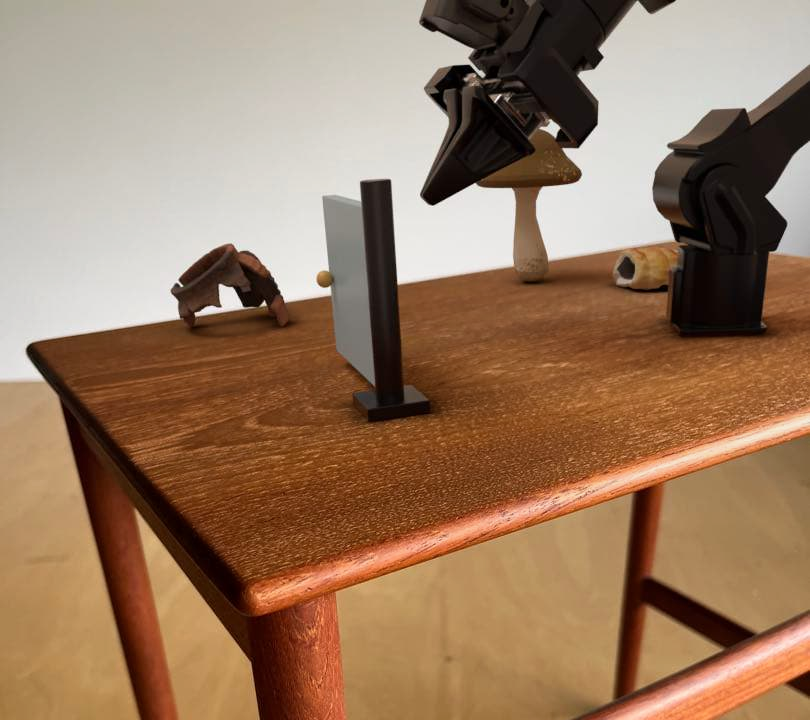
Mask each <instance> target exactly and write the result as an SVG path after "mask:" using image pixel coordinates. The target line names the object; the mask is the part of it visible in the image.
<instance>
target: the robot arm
mask: <svg viewBox="0 0 810 720" xmlns="http://www.w3.org/2000/svg"><path fill="white" fill-rule="evenodd" d="M676 1H677V0H425V2H424V5H423V8H422V11H421V14H420V17H419V20H418V24H419V25H420V26H421V27H423V28H424V29H425V30H426V31H429V32H431V33H436V32H438V33H439V34H442V35H443V36H446V37H448V38H450V39H452V40H453V41H455V42H457V43H460V44H461V45H464V46H466V47H468V48H469V49H472V51H471V53H470V54H469V56H468V57H467V60H469V61H470V62H471V63H472V65H473V66H474V67H475V68H476V69H477V70H478V71H481V72H482V73H483V74H484V75H483V77H482V76H481V75H480V74H479V73H478V72H477V71H476V70H475V68H473V66H472V65H471V64H453V65H449V66H448V65H447V66H444V67H439V68H437V70H436V71H435V73H434V74H433V75H432V76H431V77H430V79H429V81H428V82H427V83H426V84H425V85H424V86H423V90H424V92H425V94H426V95H427V96H428V98H429V99H430V100H431V101H432V102H433V103H434V104H435V105H436V107H438V108H439V109H440V111H441V112H443V114H444V115H445V116H446V117H447V118H448V126H447V128H446V131H445V134H444V137H443V139H442V142H441V143H440V146H439V149H438V152H437V153H436V156H435V158H434V160H433V163H432V165H431V168H430V170H429V172H428V174H427V176H426V178H425V181H424V183H423V185H422V188H421V190H420V192H419V196H420V199H422V200H423V202H425V203H426V204H427V205H428V206H432V207H433V206H436V205H438V204H440V203H442V202H443V201H445V200H447V199H449V198H451V197H452V196H454V195H456V194H458V193H460V192H462V191H464V190H465V189H467V188H469V187H471V186H473V185H474V184H476V182H478V181H480V180H482V179H484V178H486V177H488V176H489V175H491V174H493V173H495V172H497V171H499V170H501V169H503V168H505V167H507V166H509V165H511V164H513V163H515V162H517V161H519V160H520V159H522V158H524V157H527V156H531V155H533V154H534V153H535V152H536V149H535V147H534V146H533V145H532V144H531V142H530V140H531V138H532V137H533V136H534V135H535V133H536V132H537V131H538V130H539V129H541V128H547V127H548V126H549V125H550V123H551V121H552V122H553V123H555V124H556V125H557V126H558V127H559V129H558V131H557V132H556V136H555V138H556V139H555V142H556V144H557V145H558V146H559V147H560V148H562V149H578V150H579V148H580V147H581V146H582V145H583V144H584V143H585V141H586V140H587V139H588V137H589V136H590V135H591V134H592V132H594V130H595V129H596V127H597V126H598V125H599V100H598V98H596V97H595V95H594V94H593V93H592V92H591V90H590V89H589V88H588V87H587V85H586V84H585V83H584V82H583V81H582V79H581V78H580V77H579V75H580V73H582V72H587V71H593V70H596V68H597V67H598V66H599V65H600V64H601V62H602V61H603V59H605V56H604V55H603V54H602V52H601V51H600V48H601V47H602V46H603V45H604V44H605V42H606V41H607V40H608V38H609V37H610V36H611V35H612V33H613V32H614V31H615V30H616V29H617V28H618V26H619V25H620V24H621V22H622V21H623V19H624V18H625V17H626V16H627V14H628V13H629V12H630V11H631V10H632V9H633V7H634V6H635V4H636V3H637V2H638V3H639V4H640V5H641V6H642V7H643V9H644V10H645V11H646V12H647V13H648V14H649V15H655V14H656V13H657V12H660V11H661V10H663V9H665V8H666V7H669V6H670V5H672V4H674V3H675V2H676ZM550 120H551V121H550ZM809 142H810V63H809V64H808V65H806V66H805V67H804V68H802V69H801V70H800V71H799V72H798V73H797V74H795V75H794V76H793V77H791V78H790V79H789V80H788V81H787V82H786V83H784V84H783V85H782V86H781V87H780V88H778V89H777V90H775V91H774V92H773V93H772V94H771V95H770V96H769V97H767V98H766V99H765V100H764V101H762V102H761V103H759V105H758V106H755V108H753V109H751V110H749V111H747V109H746V107H738V108H737V107H736V108H735V107H734V108H733V107H732V108H715V109H710V111H708V112H707V113H706V114H705V115H704V116H703V117H702V118H701V119H700V120H699V121H698V122H697V123H696V125H695V126H693V128H692V129H691V130H690V131H689V132H687V134H685V135H683V136H682V137H681V138H679V139H676V140H674V141H670V142H668V143H667V144H666V147H667V149H669V150H671V152H670V153H668V154H667V155H666V156H665V157H664V159H662V161H661V162H660V163H659V164H658V166H657V168H656V170H655V171H654V178H653V182H652V187H651V190H652V201H653V203H654V205H655V208H656V210H657V212H658V213H659V214H660V215H661V216H662V217H663V218H664V219H665V220H667V221H668V222H669V224H670V228H671V232H672V235H673V239H674V241H675V242H676V243H679V244H680V243H681V244H682V245H678V246H677V250H678V259H677V265H672V266H671V267H670V268H669V283H668V285H667V299H666V312H665V316H666V318H667V320H668V321H669V323H670V324H672V327H673V328H674V329H675V330H676V332H677V333H678V335H680V336H712V335H715V336H716V335H743V334H744V335H748V334H749V335H750V334H766V333H767V330H768V326H767V324H766V323H764V322H763V321H762V318H763V312H764V311H763V310H764V302H765V292H766V285H767V276H768V275H767V274H768V267H769V256H770V253H773V252H776V251H777V250H778V248H779V245H780V244H781V241H782V239H783V236H784V234H785V232H786V230H787V227H788V221H787V219H786V218H785V217H784V216H783V215H782V214H781V212H780V211H779V210H778V209H777V208H776V207H775V206H774V205H773V204H772V203H771V201H770V200H769V199H768V198H767V195H768V194H769V193H770V192H771V191H772V190H773V189H774V188H775V187H776V185H777V183H778V181H780V178H781V177H782V175H783V173H784V172H785V170H786V168H787V167H788V165H789V163H790V162H791V160H792V158H794V156H795V154H796V153H798V151H799V150H800V149H802V148H803V147H804V146H805V145H806V144H808V143H809Z"/></svg>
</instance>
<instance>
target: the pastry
mask: <svg viewBox="0 0 810 720" xmlns="http://www.w3.org/2000/svg"><path fill="white" fill-rule="evenodd" d="M677 259H678V249H674V248H667V247H663V246H661V245H656V246H653V247H641V248H636V247H629V248H624V250H621V251H620V253H619V257H618V259H617V260H616V262H615V264H614V268H613V269H612V271H613V272H612V278H613V279H614V281H615V285H616V286H618V287H620V288H627V287H628V288H631V289H633V290H640V289H641V290H645V291H649V290H652V289H659V288H660V287H661V286H663V285H664V286H665V285H667V286H668V283H669V268H670V267H671V266H672V265H677Z"/></svg>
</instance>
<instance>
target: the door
mask: <svg viewBox="0 0 810 720" xmlns="http://www.w3.org/2000/svg"><path fill="white" fill-rule="evenodd" d="M321 199H322V209H323V210H322V212H323V221H324V222H323V223H324V231H325V233H324V234H325V243H326V253H327V264H328V265H327V266H328V270H325V269H324V270H321V271H319V272H318V273H317V275H316V279H315V280H316V283H317V285H318V286H319V287H321V288H323V289H327V288H329V287H330V295H331V297H330V298H331V306H332V317H333V318H332V319H333V329H334V339H335V349H336V351H337V352H338V353H339V354H340V356H342V357H343V358H344V359H345V360H346V361H347V362H348V363H349V364H350V365H351V366H352V367H354V369H356V370H357V371H358V372H359V373H360V374H361V375H362V376H363V377H364V378H365V379H366V380H367V381H368V382H369V383H371V385H372V386H373V387H375V377H374V364H373V351H372V338H371V325H370V311H369V298H368V285H367V272H366V259H365V246H364V232H363V219H362V206H361V200H357V199H353V198H349V197H345V196H341V195H338V194H329V195H322V196H321Z"/></svg>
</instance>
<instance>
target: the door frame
mask: <svg viewBox="0 0 810 720" xmlns="http://www.w3.org/2000/svg"><path fill="white" fill-rule="evenodd" d="M392 187H393V186H392V179H391V178H373V179H363V180H360V181H359V191H360V201H361V206H362V219H363V232H364V246H365V259H366V272H367V285H368V298H369V311H370V325H371V338H372V351H373V364H374V377H375V386H374V388H375V389H370V390H363V391H357V392H352V395H351V396H352V405H353V406H354V407H355V409H357V410H358V412H359V413H360V414H361V415H362V416H363V417H364V418H365V420H366V421H368V422H376V421H382V420H390V419H393V418H394V419H396V418H401V417H408V416H409V417H410V416H415V415H422V414H429V413H431V400H430V399H429V398H428V397H426V396H425V395H424V394H423V393H422V392H420V391H419V390H418V389H417V388H416V387H414V386H413V385H412V384H407V385H406V384H405V383H404V381H405V380H404V367H403V350H402V349H403V348H402V335H401V317H400V303H399V302H400V301H399V284H398V270H397V269H398V268H397V267H398V265H397V253H396V236H395V220H394V219H395V218H394V204H393V188H392Z"/></svg>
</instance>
